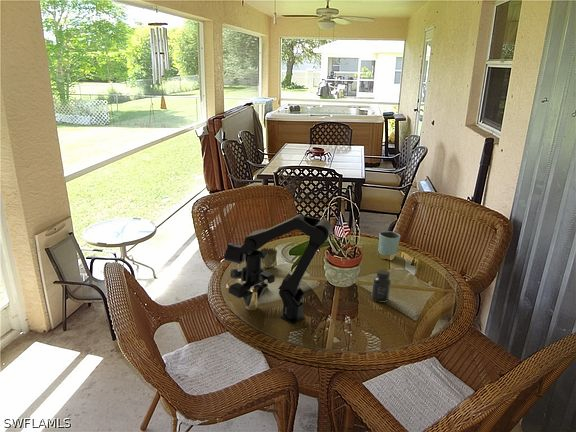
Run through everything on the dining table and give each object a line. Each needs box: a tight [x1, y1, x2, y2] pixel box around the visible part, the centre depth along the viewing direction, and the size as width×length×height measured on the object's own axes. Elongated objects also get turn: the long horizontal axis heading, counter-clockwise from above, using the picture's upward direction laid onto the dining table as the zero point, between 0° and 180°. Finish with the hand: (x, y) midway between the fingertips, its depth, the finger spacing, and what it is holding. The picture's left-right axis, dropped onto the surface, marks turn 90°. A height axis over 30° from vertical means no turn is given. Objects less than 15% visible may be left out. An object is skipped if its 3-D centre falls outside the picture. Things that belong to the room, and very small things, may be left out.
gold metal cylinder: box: [245, 288, 258, 311], centre depth 155 cm, size 4×4×7 cm
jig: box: [234, 278, 269, 289], centre depth 170 cm, size 10×9×5 cm
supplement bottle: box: [371, 269, 392, 302], centre depth 167 cm, size 7×7×12 cm
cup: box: [261, 247, 278, 269], centre depth 188 cm, size 8×7×8 cm
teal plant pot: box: [377, 230, 401, 255], centre depth 208 cm, size 10×10×12 cm
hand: (251, 303), depth 156 cm, fingers closed on gold metal cylinder, 4 cm apart
